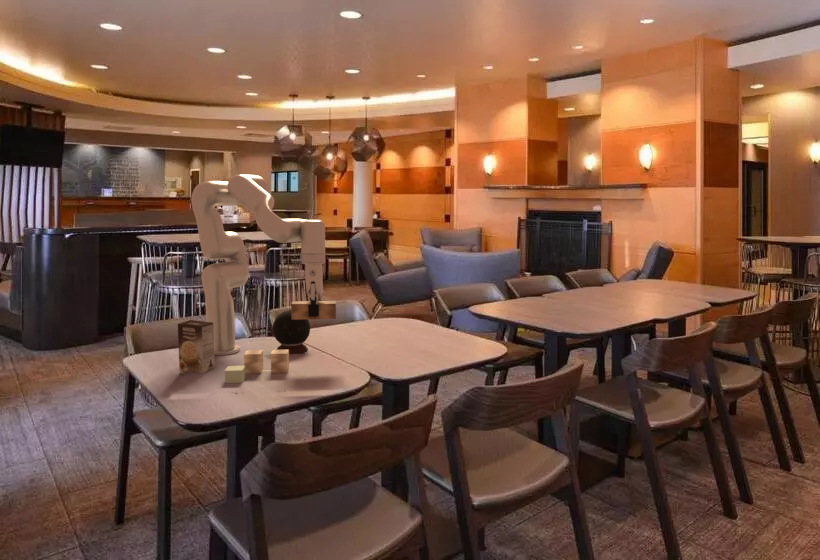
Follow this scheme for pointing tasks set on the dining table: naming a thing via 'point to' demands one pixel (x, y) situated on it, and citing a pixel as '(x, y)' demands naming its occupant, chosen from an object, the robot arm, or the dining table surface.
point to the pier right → (279, 361)
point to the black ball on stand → (291, 333)
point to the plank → (301, 311)
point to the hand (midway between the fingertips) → (314, 314)
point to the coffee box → (196, 346)
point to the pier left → (253, 361)
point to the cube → (235, 374)
